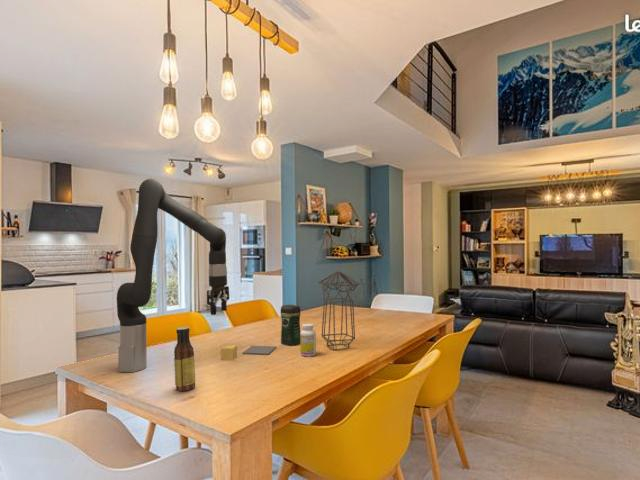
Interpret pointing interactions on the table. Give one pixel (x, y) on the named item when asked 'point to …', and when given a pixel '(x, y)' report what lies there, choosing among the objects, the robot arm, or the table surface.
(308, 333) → the supplement bottle
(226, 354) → the cube
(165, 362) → the table surface
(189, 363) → the sauce bottle
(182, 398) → the table surface
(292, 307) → the coffee jar
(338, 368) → the table surface
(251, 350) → the coaster
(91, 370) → the table surface
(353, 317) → the geometric lantern
